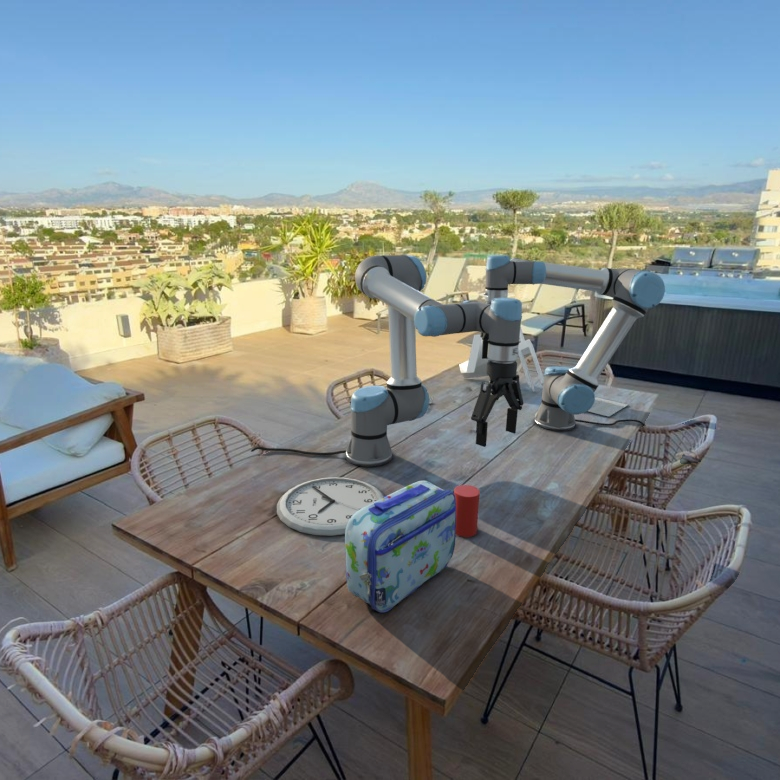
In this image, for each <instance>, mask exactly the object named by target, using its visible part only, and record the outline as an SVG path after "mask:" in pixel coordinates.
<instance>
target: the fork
mask: <svg viewBox="0 0 780 780" xmlns="http://www.w3.org/2000/svg"><path fill="white" fill-rule="evenodd" d="M434 399H435V396H429V405H430V404H433V402H434Z"/></svg>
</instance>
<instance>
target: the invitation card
mask: <svg viewBox="0 0 780 780" xmlns="http://www.w3.org/2000/svg"><path fill="white" fill-rule="evenodd" d="M628 406H629V404H627V403H623V402H618V401H614V400H609V399H605V398H601V397H596V396H595V401H594V404H593V406H592V407H591V408H590V409H589V410H588V411H587V413H593V414H596V415H600V416H604V417H608V418H609V417H611V416H613V415H614V414H616V413H617V412H619V411H621V410H623V409H624V408H626V407H628Z"/></svg>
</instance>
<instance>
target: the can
mask: <svg viewBox="0 0 780 780" xmlns="http://www.w3.org/2000/svg"><path fill="white" fill-rule="evenodd" d="M453 493H454V494H455V498H456V535H455V536H458V537H462V538H470V537H473V536H475V535H476V534H477V533H478V521H479V508H480V497H481V496H480V494H481V491H480V489H479V488H478V487H476V486H474V485H471V484H460V485H457V486H455V488H454V490H453Z"/></svg>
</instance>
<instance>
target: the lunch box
mask: <svg viewBox="0 0 780 780" xmlns="http://www.w3.org/2000/svg"><path fill="white" fill-rule="evenodd" d="M456 536H457V535H456V498H455V494H454V491H453V490H450V489H442V488H440V487H439V486H437V485H435V484H433V483H432V482H430V481H428V480H418V481H416V482H413V483H410V484H409V485H406V486H405V487H402V488H400V489H398V490H396V491H394V492H392V493H390V494H388V495H385V497H384V498H382V499H380V500H378V501H376V502H374V503H372V504H370V505H368V506H366V507H364V508H362V509H360V510H358V511H357V512H355V513H354V514H353V515H352V517H351V518H350V520H349V522H348V524H347V527H346V531H345V534H344V552H345V577H346V578H345V580H346V586H347V589H348V592H349V593H350V594H352V595H354V596H356V597H357V598H359V599H361V600H363V602H365V603H367V604H368V605H370V607H371V608H372V609H373V610H375V611H376V612H378V613H380V614H382V613H383V614H385V613H387V612H389V611H391V609H393V608H394V607H395V606H396V605H397V604H400V602H401V601H402V600H404V599H406V597H409V596H410V595H411V594H412V593H414V592H415V591H416V590H417V589H418V588H420V587H421V586H422V585H423V584H424V583H425V582H427V581H428V580H430V579H432V578H433V577H434V576H436V575H437V574H439V573H441V572H442V571H443V570H445V568H446V567H447V566H448V564H449V563H450V561H451V560H452V557H453V554H454V551H455V548H456V547H455V546H456Z"/></svg>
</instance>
